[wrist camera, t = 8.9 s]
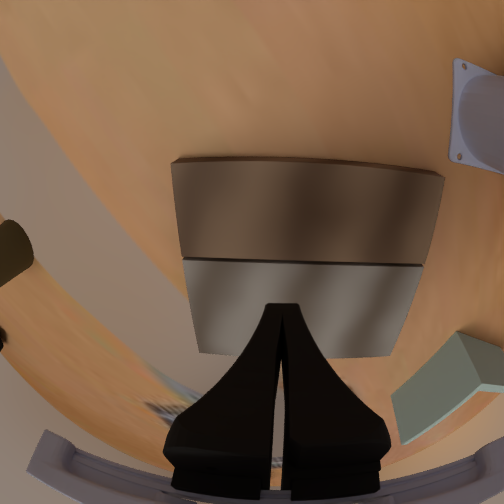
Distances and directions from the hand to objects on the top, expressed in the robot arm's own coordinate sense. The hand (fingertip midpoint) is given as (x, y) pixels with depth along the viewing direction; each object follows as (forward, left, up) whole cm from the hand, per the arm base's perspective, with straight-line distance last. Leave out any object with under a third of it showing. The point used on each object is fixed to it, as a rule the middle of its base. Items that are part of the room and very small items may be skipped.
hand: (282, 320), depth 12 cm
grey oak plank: (-2, +2, -8) cm, 8 cm away
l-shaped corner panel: (-23, +19, -10) cm, 31 cm away
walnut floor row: (-2, -2, -9) cm, 10 cm away
